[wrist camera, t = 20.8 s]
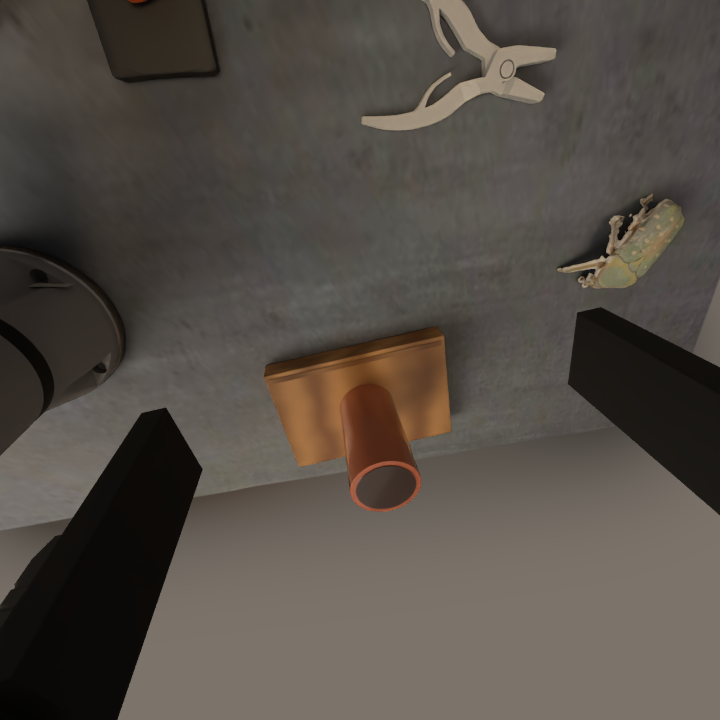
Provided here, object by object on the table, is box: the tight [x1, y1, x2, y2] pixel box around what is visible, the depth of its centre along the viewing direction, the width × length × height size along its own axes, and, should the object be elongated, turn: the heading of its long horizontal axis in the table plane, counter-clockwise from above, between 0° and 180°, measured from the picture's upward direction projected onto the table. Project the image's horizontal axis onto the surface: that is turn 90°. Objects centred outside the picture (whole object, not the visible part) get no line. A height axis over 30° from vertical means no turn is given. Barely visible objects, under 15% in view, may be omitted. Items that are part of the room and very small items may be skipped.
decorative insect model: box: [557, 193, 684, 288], centre depth 37 cm, size 9×11×5 cm
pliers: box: [361, 0, 556, 131], centre depth 29 cm, size 10×2×15 cm
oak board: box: [264, 326, 451, 467], centre depth 43 cm, size 20×14×3 cm
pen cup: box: [340, 384, 421, 512], centre depth 37 cm, size 6×6×12 cm
